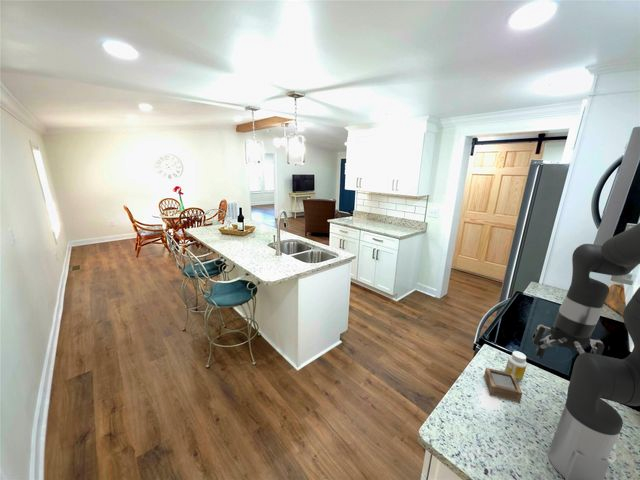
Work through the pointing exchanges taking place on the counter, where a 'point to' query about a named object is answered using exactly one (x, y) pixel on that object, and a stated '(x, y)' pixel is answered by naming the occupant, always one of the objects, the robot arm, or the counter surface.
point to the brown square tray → (501, 390)
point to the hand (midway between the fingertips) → (557, 363)
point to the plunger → (502, 380)
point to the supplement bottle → (516, 365)
